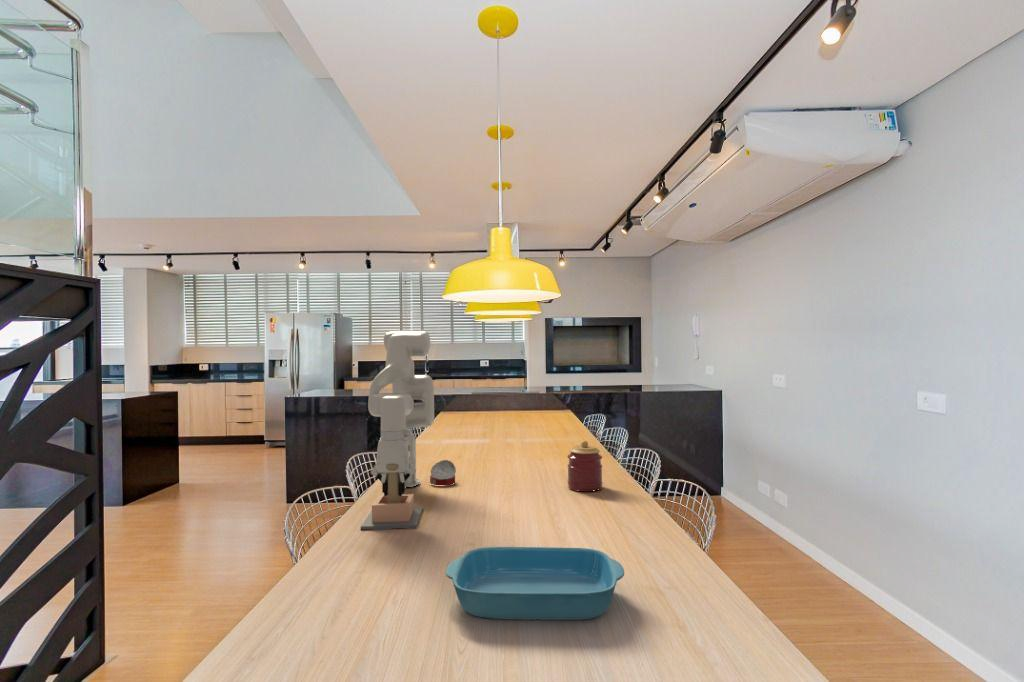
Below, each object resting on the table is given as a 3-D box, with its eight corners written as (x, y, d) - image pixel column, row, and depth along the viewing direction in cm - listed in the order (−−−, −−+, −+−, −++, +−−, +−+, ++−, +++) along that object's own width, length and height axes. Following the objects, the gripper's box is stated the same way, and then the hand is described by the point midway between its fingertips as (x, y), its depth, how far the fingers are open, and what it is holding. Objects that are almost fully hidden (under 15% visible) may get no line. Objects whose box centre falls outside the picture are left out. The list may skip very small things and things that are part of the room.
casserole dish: (436, 626, 97) (435, 588, 97) (456, 574, 120) (456, 544, 120) (633, 631, 95) (632, 592, 95) (616, 578, 117) (616, 546, 117)
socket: (373, 510, 168) (373, 492, 168) (423, 509, 169) (422, 491, 169) (360, 530, 150) (360, 509, 150) (416, 528, 151) (416, 507, 151)
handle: (403, 508, 163) (402, 460, 163) (399, 514, 156) (399, 465, 156) (387, 508, 162) (387, 460, 162) (383, 515, 156) (383, 465, 156)
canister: (564, 491, 189) (564, 443, 189) (571, 482, 201) (570, 437, 201) (600, 494, 185) (599, 444, 185) (604, 484, 197) (604, 438, 198)
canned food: (455, 493, 204) (465, 472, 202) (438, 497, 195) (449, 475, 194) (437, 476, 210) (447, 456, 208) (420, 479, 201) (430, 457, 200)
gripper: (421, 433, 164) (422, 490, 164) (368, 434, 163) (368, 492, 163) (419, 437, 156) (419, 497, 156) (363, 438, 155) (363, 499, 155)
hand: (393, 494), depth 159 cm, fingers closed on handle, 3 cm apart
